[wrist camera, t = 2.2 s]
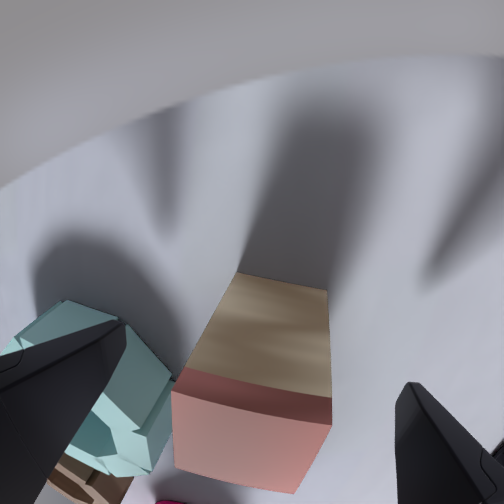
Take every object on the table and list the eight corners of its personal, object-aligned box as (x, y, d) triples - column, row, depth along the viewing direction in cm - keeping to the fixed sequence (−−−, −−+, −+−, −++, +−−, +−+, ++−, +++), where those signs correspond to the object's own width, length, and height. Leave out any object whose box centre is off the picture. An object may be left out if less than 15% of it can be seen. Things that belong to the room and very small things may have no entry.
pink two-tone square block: (327, 290, 11) (331, 425, 5) (306, 361, 12) (294, 494, 7) (236, 272, 11) (170, 390, 6) (226, 344, 13) (174, 467, 7)
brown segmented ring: (93, 424, 17) (67, 461, 14) (149, 492, 19) (134, 525, 16) (24, 407, 19) (1, 433, 16) (77, 472, 22) (60, 497, 18)
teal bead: (176, 334, 13) (139, 390, 10) (177, 448, 16) (157, 494, 13) (29, 285, 14) (-17, 315, 11) (59, 399, 17) (30, 432, 14)
